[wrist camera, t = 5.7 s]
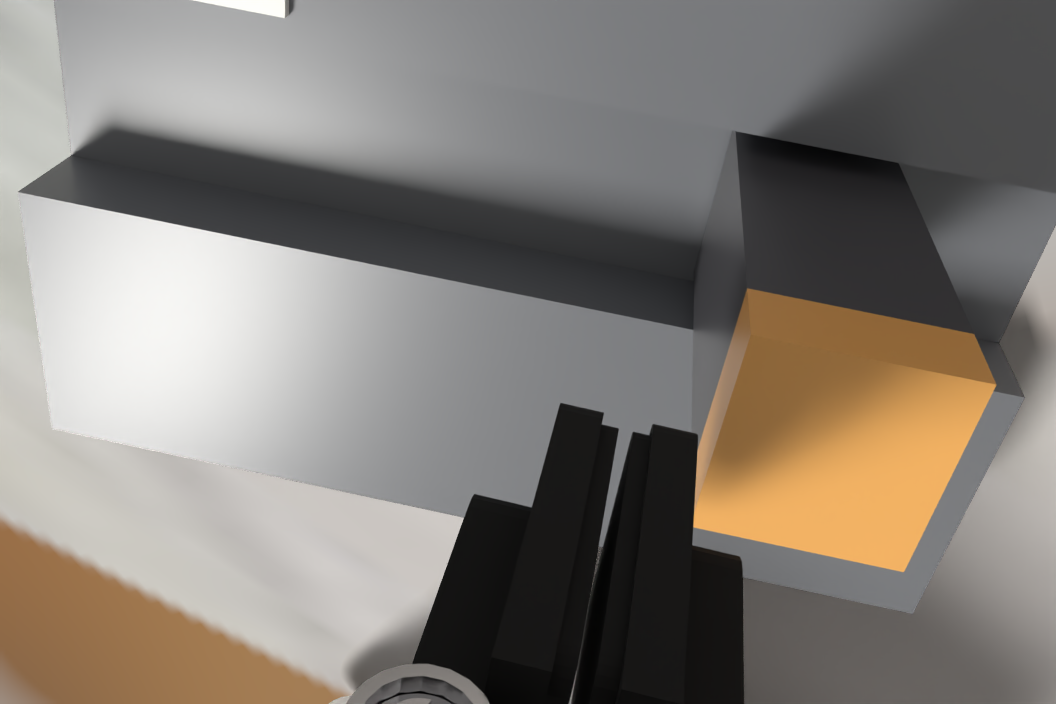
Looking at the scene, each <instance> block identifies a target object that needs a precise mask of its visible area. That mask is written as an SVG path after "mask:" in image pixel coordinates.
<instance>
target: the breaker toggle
mask: <svg viewBox="0 0 1056 704" xmlns="http://www.w3.org/2000/svg"><path fill="white" fill-rule="evenodd" d="M995 387H996V382H995V380H994V378H993V376H992V373H991V371H990V369H989V366H988V364H987V362H986V360H985V357H984V355H983V353H982V351H981V348H980V346H979V344H978V342H977V339H976V337H975V335H974V333H973V330H972V328H971V326H970V323H969V321H968V319H967V317H966V314H965V312H964V310H963V308H962V305H961V303H960V301H959V299H958V296H957V294H956V292H955V290H954V287H953V285H952V283H951V280H950V278H949V276H948V274H947V271H946V269H945V267H944V265H943V262H942V260H941V258H940V256H939V253H938V251H937V249H936V247H935V244H934V242H933V240H932V237H931V235H930V233H929V231H928V228H927V226H926V224H925V222H924V219H923V217H922V215H921V213H920V210H919V208H918V206H917V203H916V201H915V199H914V197H913V194H912V192H911V190H910V188H909V185H908V183H907V181H906V179H905V176H904V174H903V172H902V170H901V167H900V165H899V163H896V162H891V161H886V160H881V159H876V158H871V157H866V156H860V155H855V154H850V153H845V152H840V151H835V150H830V149H824V148H819V147H814V146H809V145H804V144H799V143H794V142H789V141H783V140H778V139H773V138H768V137H763V136H758V135H753V134H747V133H742V132H737V131H732V134H731V137H730V141H729V145H728V148H727V152H726V156H725V159H724V163H723V167H722V171H721V174H720V178H719V182H718V185H717V189H716V193H715V196H714V200H713V204H712V207H711V211H710V215H709V219H708V222H707V226H706V230H705V233H704V237H703V241H702V244H701V248H700V252H699V255H698V259H697V263H696V267H695V270H694V319H693V373H692V427H691V432H692V433H696V434H698V451H697V469H696V487H695V505H694V523H693V527H694V528H699V529H703V530H708V531H713V532H717V533H722V534H727V535H731V536H736V537H741V538H746V539H750V540H755V541H760V542H764V543H769V544H774V545H778V546H783V547H788V548H792V549H797V550H802V551H806V552H811V553H816V554H821V555H825V556H830V557H835V558H839V559H844V560H849V561H853V562H858V563H863V564H867V565H872V566H877V567H882V568H886V569H891V570H896V571H900V572H904V571H905V569H906V567H907V565H908V563H909V561H910V559H911V557H912V555H913V553H914V551H915V549H916V547H917V545H918V543H919V541H920V539H921V537H922V535H923V533H924V531H925V529H926V527H927V525H928V522H929V520H930V518H931V516H932V514H933V512H934V510H935V508H936V506H937V504H938V502H939V500H940V498H941V496H942V494H943V492H944V490H945V488H946V486H947V484H948V482H949V480H950V478H951V476H952V474H953V472H954V470H955V468H956V466H957V464H958V462H959V460H960V458H961V456H962V454H963V452H964V450H965V448H966V446H967V444H968V442H969V440H970V438H971V436H972V434H973V432H974V429H975V427H976V425H977V423H978V421H979V419H980V417H981V415H982V413H983V411H984V409H985V407H986V405H987V403H988V401H989V399H990V397H991V395H992V393H993V391H994V389H995Z"/></svg>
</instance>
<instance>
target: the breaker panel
mask: <svg viewBox="0 0 1056 704" xmlns="http://www.w3.org/2000/svg"><path fill="white" fill-rule="evenodd" d="M54 6H55V15H56V24H57V33H58V42H59V51H60V60H61V70H62V79H63V88H64V97H65V106H66V115H67V124H68V133H69V142H70V151H71V156H70V157H68V158H67V159H65V160H64V161H63V162H61V163H60V164H58V165H57V166H55V167H54V168H52V169H51V170H49V171H48V172H46V173H45V174H43V175H42V176H41V177H39V178H38V179H36V180H35V181H33V182H32V183H30V184H29V185H27V186H26V187H24V188H23V189H21V190H20V191H19V192H18V198H19V205H20V212H21V219H22V226H23V233H24V239H25V246H26V253H27V260H28V267H29V274H30V281H31V288H32V295H33V302H34V309H35V316H36V323H37V330H38V337H39V344H40V350H41V357H42V364H43V371H44V378H45V385H46V392H47V399H48V406H49V413H50V420H51V427H52V429H54V430H59V431H64V432H68V433H73V434H78V435H82V436H87V437H92V438H96V439H101V440H106V441H110V442H115V443H119V444H124V445H129V446H133V447H138V448H143V449H147V450H152V451H157V452H161V453H166V454H171V455H175V456H180V457H185V458H189V459H194V460H199V461H203V462H208V463H213V464H217V465H222V466H226V467H231V468H236V469H240V470H245V471H250V472H254V473H259V474H264V475H268V476H273V477H278V478H282V479H287V480H292V481H296V482H301V483H306V484H310V485H315V486H319V487H324V488H329V489H333V490H338V491H343V492H347V493H352V494H357V495H361V496H366V497H371V498H375V499H380V500H385V501H389V502H394V503H399V504H403V505H408V506H412V507H417V508H422V509H426V510H431V511H436V512H440V513H445V514H450V515H454V516H459V517H465V514H466V511H467V508H468V506H469V503H470V501H471V498H472V496H473V495H474V494H477V495H481V496H486V497H490V498H494V499H498V500H503V501H507V502H511V503H515V504H520V505H524V506H528V507H532V505H533V501H534V497H535V494H536V490H537V486H538V483H539V479H540V475H541V472H542V468H543V464H544V461H545V457H546V453H547V450H548V446H549V442H550V438H551V435H552V431H553V427H554V424H555V420H556V416H557V413H558V409H559V406H560V403H564V404H568V405H573V406H577V407H582V408H586V409H590V410H595V411H599V412H604V415H603V421H602V425H607V426H611V427H615V428H619V431H618V437H617V443H616V449H615V455H614V460H613V466H612V472H611V478H610V483H609V489H608V495H607V501H606V506H605V512H604V518H603V524H602V529H601V535H600V541H599V547H603V545H604V541H605V537H606V533H607V529H608V525H609V521H610V517H611V513H612V509H613V506H614V502H615V498H616V494H617V490H618V486H619V482H620V478H621V474H622V470H623V467H624V463H625V459H626V455H627V451H628V447H629V443H630V439H631V436H632V433H633V432H637V433H642V434H646V435H649V433H650V430H651V427H652V425H653V424H656V425H661V426H665V427H670V428H674V429H678V430H683V431H687V432H691V427H692V373H693V319H694V270H695V267H696V263H697V259H698V255H699V252H700V248H701V244H702V241H703V237H704V233H705V230H706V226H707V222H708V219H709V215H710V211H711V207H712V204H713V200H714V196H715V193H716V189H717V185H718V182H719V178H720V174H721V171H722V167H723V163H724V159H725V156H726V152H727V148H728V145H729V141H730V137H731V134H732V131H737V132H742V133H747V134H753V135H758V136H763V137H768V138H773V139H778V140H783V141H789V142H794V143H799V144H804V145H809V146H814V147H819V148H824V149H830V150H835V151H840V152H845V153H850V154H855V155H860V156H866V157H871V158H876V159H881V160H886V161H891V162H896V163H899V165H900V167H901V170H902V172H903V174H904V176H905V179H906V181H907V183H908V185H909V188H910V190H911V192H912V194H913V197H914V199H915V201H916V203H917V206H918V208H919V210H920V213H921V215H922V217H923V219H924V222H925V224H926V226H927V228H928V231H929V233H930V235H931V237H932V240H933V242H934V244H935V247H936V249H937V251H938V253H939V256H940V258H941V260H942V262H943V265H944V267H945V269H946V271H947V274H948V276H949V278H950V280H951V283H952V285H953V287H954V290H955V292H956V294H957V296H958V299H959V301H960V303H961V305H962V308H963V310H964V312H965V314H966V317H967V319H968V321H969V323H970V326H971V328H972V330H973V333H974V335H975V337H976V339H977V342H978V344H979V346H980V348H981V351H982V353H983V355H984V357H985V360H986V362H987V364H988V366H989V369H990V371H991V373H992V376H993V378H994V380H995V382H996V387H995V389H994V391H993V393H992V395H991V397H990V399H989V401H988V403H987V405H986V407H985V409H984V411H983V413H982V415H981V417H980V419H979V421H978V423H977V425H976V427H975V429H974V432H973V434H972V436H971V438H970V440H969V442H968V444H967V446H966V448H965V450H964V452H963V454H962V456H961V458H960V460H959V462H958V464H957V466H956V468H955V470H954V472H953V474H952V476H951V478H950V480H949V482H948V484H947V486H946V488H945V490H944V492H943V494H942V496H941V498H940V500H939V502H938V504H937V506H936V508H935V510H934V512H933V514H932V516H931V518H930V520H929V522H928V525H927V527H926V529H925V531H924V533H923V535H922V537H921V539H920V541H919V543H918V545H917V547H916V549H915V551H914V553H913V555H912V557H911V559H910V561H909V563H908V565H907V567H906V569H905V571H904V572H900V571H896V570H891V569H886V568H882V567H877V566H872V565H867V564H863V563H858V562H853V561H849V560H844V559H839V558H835V557H830V556H825V555H821V554H816V553H811V552H806V551H802V550H797V549H792V548H788V547H783V546H778V545H774V544H769V543H764V542H760V541H755V540H750V539H746V538H741V537H736V536H731V535H727V534H722V533H717V532H713V531H708V530H703V529H699V528H694V527H693V541H692V545H694V546H698V547H702V548H706V549H711V550H715V551H719V552H723V553H728V554H732V555H736V556H740V558H741V560H742V568H743V578H747V579H752V580H757V581H761V582H766V583H771V584H775V585H780V586H784V587H789V588H794V589H798V590H803V591H808V592H812V593H817V594H822V595H826V596H831V597H836V598H840V599H845V600H850V601H854V602H859V603H864V604H868V605H873V606H878V607H882V608H887V609H891V610H896V611H901V612H905V613H910V614H913V613H914V611H915V609H916V607H917V605H918V603H919V601H920V599H921V597H922V595H923V593H924V591H925V589H926V587H927V586H928V584H929V582H930V580H931V578H932V576H933V574H934V572H935V570H936V568H937V566H938V564H939V562H940V560H941V559H942V557H943V555H944V553H945V551H946V549H947V547H948V545H949V543H950V541H951V539H952V537H953V535H954V533H955V532H956V530H957V528H958V526H959V524H960V522H961V520H962V518H963V516H964V514H965V512H966V510H967V508H968V506H969V504H970V503H971V501H972V499H973V497H974V495H975V493H976V491H977V489H978V487H979V485H980V483H981V481H982V479H983V477H984V476H985V474H986V472H987V470H988V468H989V466H990V464H991V462H992V460H993V458H994V456H995V454H996V452H997V450H998V449H999V447H1000V445H1001V443H1002V441H1003V439H1004V437H1005V435H1006V433H1007V431H1008V429H1009V427H1010V425H1011V423H1012V421H1013V420H1014V418H1015V416H1016V414H1017V412H1018V410H1019V408H1020V406H1021V404H1022V402H1023V400H1024V398H1025V397H1024V395H1023V393H1022V391H1021V389H1020V386H1019V384H1018V382H1017V380H1016V378H1015V376H1014V374H1013V372H1012V370H1011V367H1010V365H1009V363H1008V361H1007V359H1006V357H1005V355H1004V353H1003V351H1002V349H1001V346H1000V344H999V342H1000V340H1001V338H1002V336H1003V333H1004V331H1005V329H1006V327H1007V325H1008V323H1009V321H1010V319H1011V317H1012V315H1013V313H1014V311H1015V309H1016V307H1017V304H1018V302H1019V300H1020V298H1021V296H1022V294H1023V292H1024V290H1025V288H1026V286H1027V284H1028V282H1029V280H1030V278H1031V275H1032V273H1033V271H1034V269H1035V267H1036V265H1037V263H1038V261H1039V259H1040V256H1041V254H1042V253H1043V251H1044V248H1045V246H1046V244H1047V242H1048V240H1049V238H1050V236H1051V234H1052V232H1053V230H1054V228H1055V226H1056V0H54Z"/></svg>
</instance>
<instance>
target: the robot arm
mask: <svg viewBox="0 0 1056 704" xmlns="http://www.w3.org/2000/svg"><path fill="white" fill-rule="evenodd" d="M603 415H604V412H599V411H595V410H590V409H586V408H582V407H577V406H573V405H568V404H564V403H560V406H559V409H558V413H557V416H556V420H555V424H554V427H553V431H552V435H551V438H550V442H549V446H548V450H547V453H546V457H545V461H544V464H543V468H542V472H541V475H540V479H539V483H538V486H537V490H536V494H535V497H534V501H533V505H532V507H528V506H524V505H520V504H515V503H511V502H507V501H503V500H498V499H494V498H490V497H486V496H481V495H477V494H474V495H473V496H472V498H471V501H470V503H469V506H468V508H467V511H466V514H465V517H464V520H463V522H462V525H461V528H460V531H459V534H458V537H457V539H456V542H455V545H454V548H453V551H452V553H451V556H450V559H449V562H448V565H447V567H446V570H445V573H444V576H443V579H442V581H441V584H440V587H439V590H438V593H437V595H436V598H435V601H434V604H433V607H432V610H431V612H430V615H429V618H428V621H427V624H426V626H425V629H424V632H423V635H422V638H421V640H420V643H419V646H418V649H417V652H416V654H415V657H414V660H413V663H412V664H403V665H400V666H396V667H393V668H389V669H385V670H382V671H381V672H379V673H377V674H376V675H374V676H372V677H371V678H369V679H368V680H366V681H364V682H363V683H362V684H361V686H360V687H359V688H358V689H357V690H356V691H355V692H354V694H353V695H352V696H351V697H350V698H349V700H348V701H347V703H346V704H569V701H570V697H571V693H572V689H573V684H574V689H573V694H572V700H571V704H744V662H743V568H742V560H741V558H740V556H736V555H732V554H728V553H723V552H719V551H715V550H711V549H706V548H702V547H698V546H694V545H692V541H693V523H694V505H695V487H696V469H697V451H698V434H696V433H692V432H687V431H683V430H678V429H674V428H670V427H665V426H661V425H656V424H653V425H652V427H651V430H650V433H649V435H646V434H642V433H637V432H633V433H632V436H631V439H630V443H629V447H628V451H627V455H626V459H625V463H624V467H623V470H622V474H621V478H620V482H619V486H618V490H617V494H616V498H615V502H614V506H613V509H612V513H611V517H610V521H609V525H608V529H607V533H606V537H605V541H604V545H603V549H602V552H601V556H600V560H599V564H598V568H597V572H596V576H595V580H594V584H593V588H592V592H591V587H592V581H593V575H594V570H595V564H596V558H597V552H598V547H599V541H600V535H601V529H602V524H603V518H604V512H605V506H606V501H607V495H608V489H609V483H610V478H611V472H612V466H613V460H614V455H615V449H616V443H617V437H618V431H619V428H615V427H611V426H607V425H602V421H603ZM590 593H591V596H590ZM589 598H590V600H589ZM588 604H589V605H588ZM575 675H576V677H575ZM574 680H575V683H574Z"/></svg>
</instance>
